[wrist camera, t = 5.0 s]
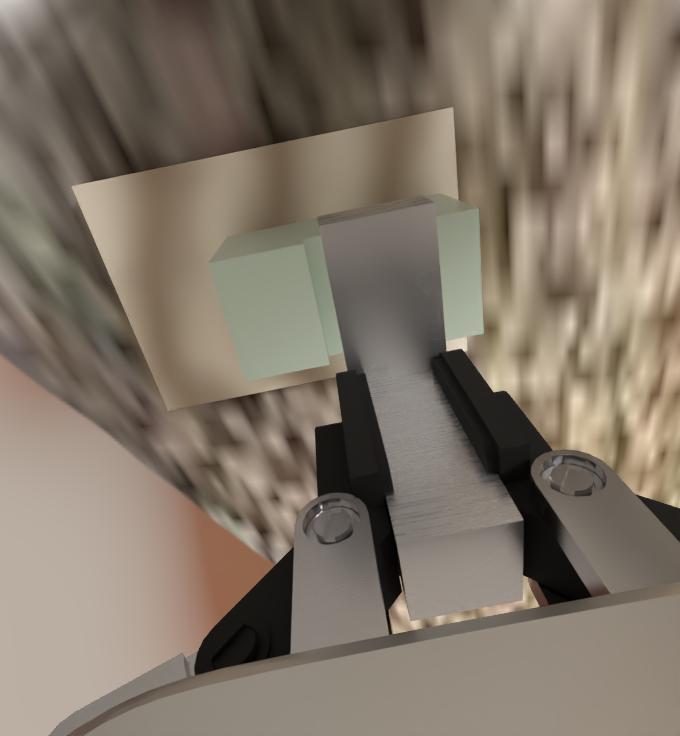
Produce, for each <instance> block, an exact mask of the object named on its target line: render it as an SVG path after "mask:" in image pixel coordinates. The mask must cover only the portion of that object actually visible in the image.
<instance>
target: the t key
mask: <svg viewBox="0 0 680 736" xmlns="http://www.w3.org/2000/svg"><path fill="white" fill-rule="evenodd" d="M317 220H318V225H319V230H320V235H321V240H322V245H323V250H324V256H325V261H326V266H327V271H328V276H329V281H330V286H331V291H332V296H333V301H334V306H335V311H336V316H337V321H338V326H339V331H340V336H341V341H342V346H343V351H344V356H345V361H346V366H347V371H350V370H355V369H356V372H357V375H358V374H363V373H365V374H366V378H367V382H368V386H369V390H370V394H371V397H372V401H373V405H374V409H375V413H376V417H377V421H378V424H379V428H380V432H381V436H382V440H383V444H384V448H385V452H386V455H387V459H388V463H389V468H390V472H391V477H392V483H393V489H394V492H391V493H386V494H385V495H386V501H387V506H388V512H389V517H390V523H391V528H392V534H393V539H394V545H395V551H396V556H397V562H398V567H399V572H400V576H401V581H402V585H403V590H404V594H405V599H406V604H407V608H408V613H409V617H410V621H414V620H419V619H425V618H430V617H435V616H441V615H446V614H451V613H457V612H462V611H468V610H473V609H478V608H484V607H489V606H495V605H500V604H505V603H511V602H516V601H522V597H523V544H524V519H523V518H522V516H521V514H520V512H519V511H518V509H517V507H516V505H515V504H514V502H513V500H512V498H511V497H510V495H509V493H508V491H507V489H506V488H505V486H504V484H503V482H502V481H501V479H500V477H499V475H498V474H497V472H496V473H491V474H487V473H486V471H485V469H484V467H483V465H482V463H481V461H480V459H479V458H478V456H477V454H476V452H475V450H474V448H473V446H472V445H471V443H470V441H469V439H468V437H467V435H466V433H465V431H464V430H463V428H462V426H461V424H460V422H459V420H458V418H457V417H456V415H455V413H454V411H453V409H452V407H451V405H450V403H449V402H448V400H447V398H446V396H445V394H444V392H443V390H442V389H441V387H440V385H439V383H438V381H437V379H436V377H435V375H434V374H433V367H432V361H433V360H434V359H439V353H441V352H446V338H445V325H444V312H443V299H442V285H441V272H440V259H439V246H438V233H437V220H436V207H435V202H433V201H431V200H430V199H428V198H426V197H424V196H422V195H420V196H416V197H411V198H406V199H401V200H396V201H391V202H386V203H381V204H376V205H371V206H366V207H361V208H357V209H352V210H347V211H342V212H337V213H332V214H327V215H322V216H317Z"/></svg>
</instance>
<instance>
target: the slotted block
mask: <svg viewBox="0 0 680 736" xmlns="http://www.w3.org/2000/svg"><path fill="white" fill-rule="evenodd" d="M424 197H426V198H428V199H430V200H431V201H433V202H435V207H436V220H437V233H438V246H439V259H440V272H441V285H442V299H443V312H444V325H445V338H446V341H449V340H454V339H459V338H463V337H468V336H473V335H478V334H483V307H482V281H481V255H480V229H479V208H478V207H475V206H472V205H470V204H467V203H465V202H462V201H459V200H457V199H454V198H452V197H449V196H446V195H444V194H441V193H438V194H433V195H428V196H424ZM208 266H209V269H210V272H211V275H212V278H213V281H214V284H215V287H216V291H217V294H218V297H219V300H220V303H221V306H222V309H223V312H224V315H225V318H226V322H227V325H228V328H229V331H230V334H231V337H232V340H233V343H234V346H235V349H236V353H237V356H238V359H239V362H240V365H241V368H242V371H243V374H244V377H245V380H246V381H251V380H256V379H261V378H266V377H271V376H275V375H280V374H285V373H290V372H295V371H300V370H305V369H310V368H315V367H320V366H325V365H330V363H329V356H331V355H335V354H340V353H344V351H343V346H342V341H341V336H340V331H339V326H338V321H337V316H336V311H335V306H334V301H333V296H332V291H331V286H330V281H329V276H328V271H327V266H326V261H325V256H324V250H323V245H322V240H321V235H320V230H319V225H318V220H317V218H316V219H312V220H307V221H302V222H297V223H292V224H287V225H282V226H278V227H273V228H268V229H263V230H258V231H253V232H248V233H244V234H239V235H234V236H229V237H227V238H226V239H225V240H224V242H223V243H222V245H221V246H220V247H219V249H218V250H217V252H216V253H215V254H214V256H213V257H212V258H211V260H210V261H209V263H208Z"/></svg>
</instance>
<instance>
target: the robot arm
mask: <svg viewBox="0 0 680 736" xmlns="http://www.w3.org/2000/svg"><path fill="white" fill-rule="evenodd" d="M432 367H433V374H434V375H435V377H436V379H437V381H438V383H439V385H440V387H441V389H442V390H443V392H444V394H445V396H446V398H447V400H448V402H449V403H450V405H451V407H452V409H453V411H454V413H455V415H456V417H457V418H458V420H459V422H460V424H461V426H462V428H463V430H464V431H465V433H466V435H467V437H468V439H469V441H470V443H471V445H472V446H473V448H474V450H475V452H476V454H477V456H478V458H479V459H480V461H481V463H482V465H483V467H484V469H485V471H486V473H487V474H491V473H496V472H497V474H498V475H499V477H500V479H501V481H502V482H503V484H504V486H505V488H506V489H507V491H508V493H509V495H510V497H511V498H512V500H513V502H514V504H515V505H516V507H517V509H518V511H519V512H520V514H521V516H522V518H523V519H524V544H523V575H524V576H526V577H528V582H529V585H530V588H531V590H532V592H533V594H534V596H535V598H536V600H537V602H538V604H539V606H540V607H537V608H531V609H526V610H520V611H515V612H509V613H504V614H499V615H493V616H488V617H482V618H477V619H472V620H466V621H461V622H455V623H450V624H445V625H439V626H434V627H429V628H424V629H418V630H413V631H408V632H403V633H397V634H393V630H392V624H391V618H390V613H389V609H390V607H391V606H392V604H393V603H394V602H395V600H396V599H397V598H398V596H399V595H400V593H401V592H402V590H401V584H400V579H399V576H400V572H399V567H398V562H397V556H396V551H395V545H394V539H393V534H392V528H391V523H390V517H389V512H388V506H387V501H386V495H385V494H386V493H391V492H394V489H393V483H392V477H391V472H390V468H389V463H388V459H387V455H386V452H385V448H384V444H383V440H382V436H381V432H380V428H379V424H378V421H377V417H376V413H375V409H374V405H373V401H372V397H371V394H370V390H369V386H368V382H367V378H366V374H365V373H363V374H358V375H357V372H356V369H355V370H350V371H345V372H339V373H336V380H337V387H338V394H339V402H340V409H341V416H342V422H340V423H335V424H330V425H325V426H320V427H316V428H315V442H316V465H317V489H318V497H317V498H316V499H314V500H312V501H310V502H309V503H308V504H307V505H306V506H305V507H304V508H303V509H302V510H301V512H300V513H299V515H298V516H297V519H296V523H295V533H294V547H293V548H292V549H291V550H290V551H289V552H288V553H287V554H286V555H285V556H284V557H283V558H282V559H281V560H280V561H279V562H278V563H277V564H276V565H275V566H274V567H273V568H272V569H271V570H270V571H269V572H268V573H267V574H266V575H265V576H264V577H263V578H262V579H261V580H260V581H259V582H258V583H257V584H256V585H255V586H254V587H253V588H252V589H251V590H250V591H249V592H248V593H247V594H246V595H245V596H244V597H243V598H242V599H241V600H240V601H239V602H238V603H237V604H236V605H235V606H234V607H233V608H232V609H231V610H230V612H228V613H227V614H226V615H225V616H224V617H223V618H222V619H221V620H220V622H218V623H217V624H216V625H215V627H214V628H213V629H212V630H211V631H210V632H209V634H208V635H207V636H206V637H205V639H204V640H203V642H202V644H201V646H200V648H199V651H198V652H196V653H194V654H192V655H190V656H189V657H187V658H185V657H184V655H183V653H181V654H179V655H177V656H176V657H174V658H172V659H170V660H169V661H167V662H165V663H163V664H161V665H159V666H158V667H156V668H154V669H152V670H150V671H148V672H147V673H145V674H143V675H141V676H139V677H138V678H136V679H134V680H132V681H130V682H129V683H127V684H125V685H123V686H121V687H120V688H118V689H116V690H114V691H112V692H110V693H109V694H107V695H105V696H103V697H101V698H100V699H98V700H96V701H94V702H92V703H91V704H89V705H87V706H85V707H84V708H81V709H80V710H78V711H76V712H75V713H73V714H72V715H70V716H69V717H68V718H66V719H65V720H63V721H62V722H61V723H60V724H59V725H58V726H57V727H56V728H55V729H54V730H53V731H52V733H51V734H50V735H49V736H680V508H677V507H673V506H670V505H667V504H664V503H661V502H658V501H655V500H652V499H649V498H645V497H642V496H639V495H636V494H634V493H633V492H632V491H631V489H630V488H629V487H628V486H627V485H626V484H625V483H624V482H623V481H622V480H621V479H620V478H619V477H618V475H617V474H616V473H615V472H614V471H613V470H612V469H611V468H610V467H609V466H608V465H607V464H605V463H604V462H603V461H602V460H600V459H598V458H596V457H594V456H592V455H590V454H587V453H584V452H580V451H575V450H554V451H553V450H552V449H551V448H550V446H549V445H548V444H547V442H546V441H545V440H544V439H543V437H542V436H541V435H540V433H539V432H538V431H537V430H536V428H535V427H534V426H533V424H532V423H531V422H530V421H529V419H528V418H527V417H526V415H525V414H524V413H523V412H522V410H521V409H520V408H519V406H518V405H517V404H516V403H515V401H514V400H513V399H512V397H511V396H510V395H509V394H508V393H507V392H506V391H500V392H493V391H492V390H491V388H490V387H489V385H488V384H487V383H486V381H485V380H484V379H483V377H482V376H481V374H480V373H479V372H478V370H477V369H476V367H475V366H474V365H473V363H472V362H471V361H470V359H469V358H468V356H467V355H466V354H465V352H464V351H463V350H462V349H456V350H451V351H446V352H441V353H439V359H434V360H433V361H432Z"/></svg>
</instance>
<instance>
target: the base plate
mask: <svg viewBox="0 0 680 736" xmlns="http://www.w3.org/2000/svg"><path fill="white" fill-rule="evenodd" d="M71 187H72V189H73V192H74V194H75V196H76V199H77V201H78V203H79V206H80V208H81V210H82V212H83V215H84V217H85V219H86V222H87V224H88V226H89V229H90V231H91V233H92V236H93V238H94V240H95V243H96V245H97V247H98V250H99V252H100V254H101V257H102V259H103V261H104V264H105V266H106V268H107V271H108V273H109V275H110V278H111V280H112V282H113V285H114V287H115V289H116V291H117V294H118V296H119V298H120V301H121V303H122V305H123V308H124V310H125V312H126V315H127V317H128V319H129V322H130V324H131V326H132V329H133V331H134V333H135V336H136V338H137V340H138V343H139V345H140V347H141V350H142V352H143V354H144V357H145V359H146V361H147V364H148V366H149V368H150V370H151V373H152V375H153V377H154V380H155V382H156V384H157V387H158V389H159V391H160V394H161V396H162V398H163V401H164V403H165V405H166V408H167V410H168V411H170V410H175V409H180V408H185V407H190V406H195V405H200V404H205V403H210V402H215V401H220V400H225V399H230V398H235V397H240V396H245V395H250V394H255V393H260V392H265V391H270V390H275V389H279V388H284V387H289V386H294V385H299V384H304V383H309V382H314V381H319V380H324V379H329V378H334V377H336V373H339V372H345V371H347V366H346V361H345V356H344V353H340V354H335V355H331V356H329V363H330V365H325V366H320V367H315V368H310V369H305V370H300V371H295V372H290V373H285V374H280V375H275V376H271V377H266V378H261V379H256V380H251V381H246V380H245V377H244V374H243V371H242V368H241V365H240V362H239V359H238V356H237V353H236V349H235V346H234V343H233V340H232V337H231V334H230V331H229V328H228V325H227V322H226V318H225V315H224V312H223V309H222V306H221V303H220V300H219V297H218V294H217V291H216V287H215V284H214V281H213V278H212V275H211V272H210V269H209V266H208V263H209V261H210V260H211V258H212V257H213V256H214V254H215V253H216V252H217V250H218V249H219V247H220V246H221V245H222V243H223V242H224V240H225V239H226V238H227V237H229V236H234V235H239V234H244V233H248V232H253V231H258V230H263V229H268V228H273V227H278V226H282V225H287V224H292V223H297V222H302V221H307V220H312V219H316V218H317V216H322V215H327V214H332V213H337V212H342V211H347V210H352V209H357V208H361V207H366V206H371V205H376V204H381V203H386V202H391V201H396V200H401V199H406V198H411V197H416V196H420V195H422V196H428V195H433V194H438V193H441V194H444V195H446V196H449V197H452V198H454V199H457V200H458V182H457V165H456V148H455V130H454V113H453V107H450V108H445V109H441V110H436V111H431V112H426V113H421V114H417V115H412V116H407V117H402V118H397V119H392V120H388V121H383V122H378V123H373V124H368V125H364V126H359V127H354V128H349V129H344V130H340V131H335V132H330V133H325V134H320V135H315V136H311V137H306V138H301V139H296V140H291V141H287V142H282V143H277V144H272V145H267V146H262V147H258V148H253V149H248V150H243V151H238V152H234V153H229V154H224V155H219V156H214V157H209V158H205V159H200V160H195V161H190V162H185V163H181V164H176V165H171V166H166V167H161V168H157V169H152V170H147V171H142V172H137V173H132V174H128V175H123V176H118V177H113V178H108V179H104V180H99V181H94V182H89V183H84V184H80V185H75V186H71ZM456 349H462V350H463V351H467V338H466V337H463V338H459V339H454V340H449V341H446V351H451V350H456Z"/></svg>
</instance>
